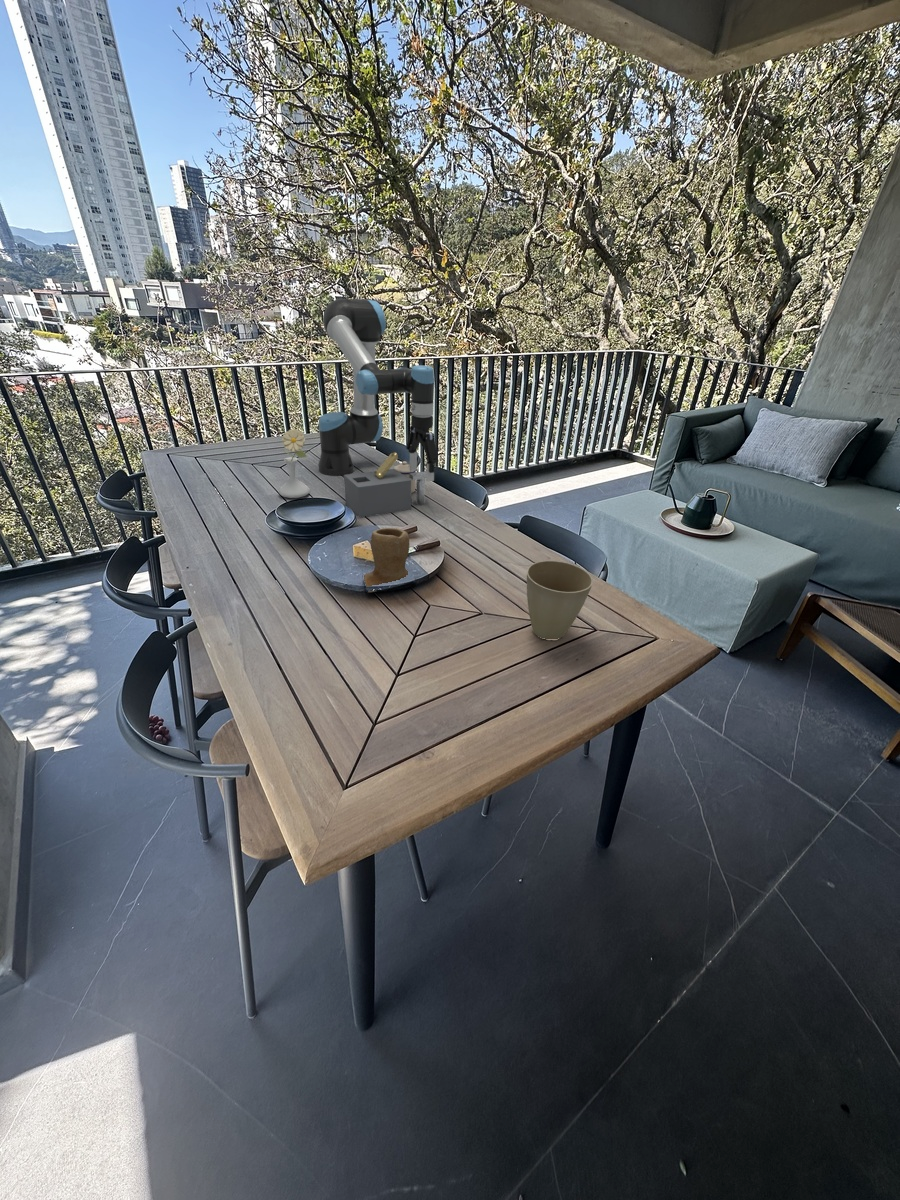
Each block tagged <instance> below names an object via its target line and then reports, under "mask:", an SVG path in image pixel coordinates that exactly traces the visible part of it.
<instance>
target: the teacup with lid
mask: <svg viewBox="0 0 900 1200" xmlns="http://www.w3.org/2000/svg"><path fill="white" fill-rule="evenodd" d="M392 469H396V470H397V471H398V472H400V473H401V474H403V475H404V476H406V477H407V478H409V473H417V470H415V471H410V463H408V462H407V461H405V460H404V461H402V462H401V463H400V464H398V465H395V466H393V467H392ZM409 479H410V480H411V494H413V493H414V492H415V491H416V480H412V479H411V478H409Z"/></svg>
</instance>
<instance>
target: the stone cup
mask: <svg viewBox="0 0 900 1200" xmlns="http://www.w3.org/2000/svg"><path fill="white" fill-rule="evenodd" d="M370 549H371V552H372V553H371V555H372V558H373V561H374V569H373V570H372V571H370V572H368V573H364V574H365V575H364V579H363V582H364V581H365V583H364V585H365V584H366V586H367V587H369V586H372V585H379V584H382V583H388V582H392V581H396V580H400V579H401V578H404V577H406V575H408V571H407V570H408V569H407V568H406V564H407V563H406V562H407V559H408V556H409V552H410V537H409V533H408V532H407V531H406V530H405V529H404V530H403V529H400V528H397V527H396V528H395V527H384V528H378V529H375V530H373V531H372V533H371V538H370ZM406 569H407V570H406ZM374 592H376V591H368V592H367V593H374Z"/></svg>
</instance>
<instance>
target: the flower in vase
mask: <svg viewBox="0 0 900 1200" xmlns="http://www.w3.org/2000/svg"><path fill="white" fill-rule="evenodd" d="M281 442H282V445H283V448H284V449H285V450H283V449H282V451H283V452H284V453H286V454H288V455H289V456H291V457H285V458H283V460H282V461H283V462H285V464H286V466H287V469H288V480H287V481H286V482H285V483H283V484H282V485H281V487H279V488H278V494H279V495H280V496H282V497H284V498H288V499H297V498H298V499H299V498H303V497H305V496H308V495H309V493H310V492H311V489H310V488H309V486H308V485H306V484H305V483H304V482H302V481H300V480H299V479H298V478H297V476H296V464H297V462H298V458H307V457H308V455H307V454H306V453H305V452H304V451H303V450H302V449H303V447H304V445H305V443H306V438H305V436H304V433H303V432H302V431H301V430H300V431H299V430H298V429H295V428H292V429H288V431H285V432H284V434H283V436H282V439H281ZM286 450H287V451H286ZM289 451H290V452H293V453H294V454H293V455H292V454H291V453H290V452H289ZM295 455H297V457H298V458H297V457H295Z"/></svg>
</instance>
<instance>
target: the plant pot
mask: <svg viewBox="0 0 900 1200" xmlns="http://www.w3.org/2000/svg"><path fill="white" fill-rule="evenodd" d="M593 579H594V578H593V577H592V575H591V574H590V573H589V572H588V571H586V570H585V569H584V568H582V567H580V566H578V565H575V564H573V563H569V562H565V561H560V560H559V561H558V560H541V561H536V562H534V563H532V564H531V565H529V566H528V567H527V570H526V597H527V607H528V615H529V620H530V625H531V629H532V633H533V634H534V633H535V634H536V635H537V636H539V637H541V638H545V639H558V638H561V637H562V638H563V637H564V636H565V635H566V634H567V632H568V631H569V629H570V628H571V626H572V625H573V623H574V622H575V621H576V618H577V617H578V615H579V613H580V612H581V610H582V608H583V607H584V604H585V602H586V600H587V599H588V596H589V594H590V591H591V589H592V586H593V584H594V580H593ZM535 634H534V635H535ZM536 635H535V636H536ZM537 636H536V637H537ZM539 637H538V638H539ZM541 638H540V639H541ZM562 638H561V639H562Z"/></svg>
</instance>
